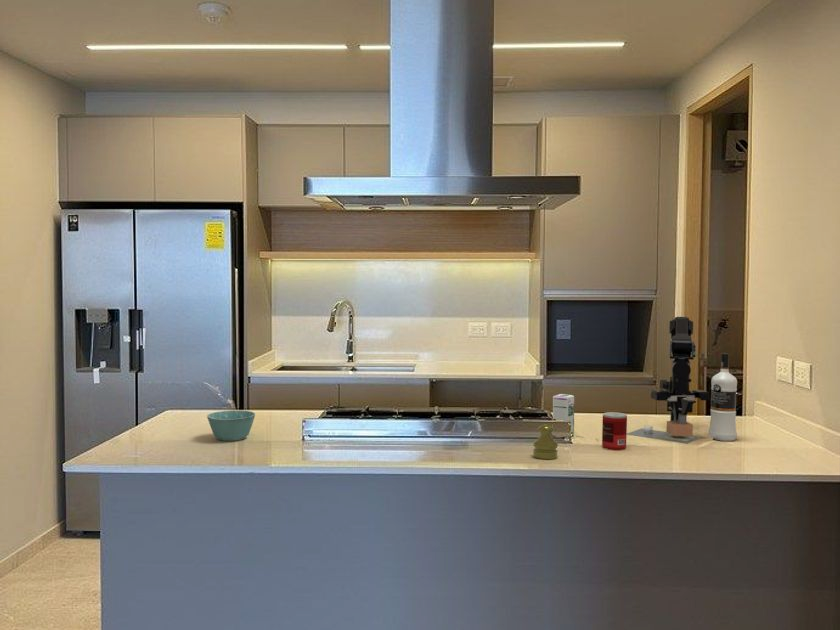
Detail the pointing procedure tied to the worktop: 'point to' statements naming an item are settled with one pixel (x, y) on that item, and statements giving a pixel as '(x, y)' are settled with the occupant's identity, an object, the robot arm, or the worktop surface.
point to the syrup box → (564, 409)
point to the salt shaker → (545, 444)
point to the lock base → (662, 435)
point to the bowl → (231, 424)
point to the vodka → (723, 403)
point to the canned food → (614, 430)
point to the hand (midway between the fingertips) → (679, 420)
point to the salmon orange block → (680, 426)
